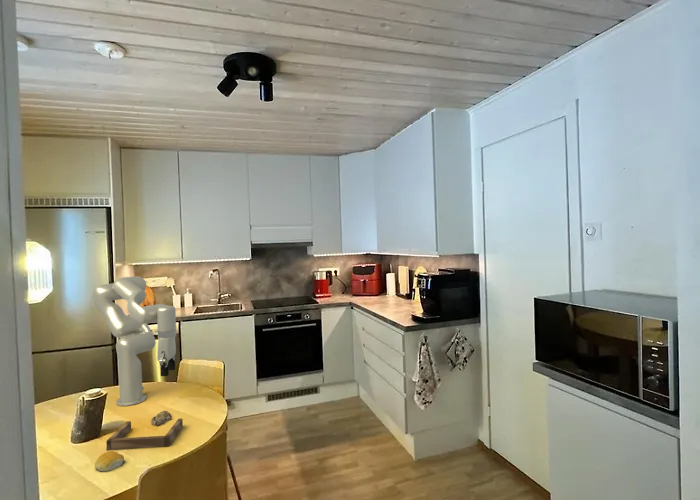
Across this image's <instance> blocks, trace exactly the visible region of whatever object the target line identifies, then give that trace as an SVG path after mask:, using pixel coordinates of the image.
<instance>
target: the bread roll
mask: <svg viewBox="0 0 700 500" xmlns="http://www.w3.org/2000/svg"><path fill="white" fill-rule="evenodd" d="M124 461H125V456H124V455H123V454H120V453H118V452H117V451H115V450H109V451H106V452H104V453H102V454H100V455H99V456H98V457H97V458H96V460H95V461H94V469H95V470H96V471H99V472H110V471H112V470H115V469H117V468H120V466H122V465H123V463H124Z"/></svg>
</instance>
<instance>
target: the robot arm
mask: <svg viewBox="0 0 700 500" xmlns="http://www.w3.org/2000/svg"><path fill="white" fill-rule="evenodd" d="M146 290H147V281H146V279H144V278H143V277H142V276H123V277H120V278H117V279H116V280H114V281H113V282H112V283H106V284H104V283H103V284H101V285H98V286H96V287H95V288H94V289H93V291H92V301H93V304H94V306H95V308H96V309H97V311H99V312H100V314H101V315H102V316H103V319H104V320H105V322H106V324H107V326H108V328H109V330H110V332H111V334H112V336H114V337H115V338H119V339H118V340H117V341H116V344H115V349H116V354H117V355H116V356H117V360H118V374H119V375H118V376H119V377H118V378H119V379H118V380H119V398H117V400H115V401H116V403H115V404H116V405H117V406H120V407H129V406H134V405H138V404H140V403H142V402H145V400H146V399H147V395H146V394H144V393H143V390H144V389H145V386H144V385H143V373H142V372H143V371H142V362H141V360H140V358H138V356H137V355H139V354H142V353H146V352H149V351H152V350H153V349H154V348H155V347H156V338H155V335H154V334H153V332H152V330H151V327H150V325H149V324H148V323H153V322H156V323H157V339H158V341H157V342H158V343H157V357H156V358H157V361H158V362H159V368H160V377H168V376H169V372H170V371H175V370H176V353H177V347H176V346H177V345H176V337H177V318H176V315H177V314H176V312H177V311H176V310H177V309H176V307H175V306H174V305H166V304H165V303H164V304H163V303H158V304H157V303H156V304H152V305H145V306H141V304H143V303H144V301H145V300H146V298H147V294H146V293H147V292H146ZM119 300H125V302H126V303H127V304H126V305H127V306H126V308H127V312H128V314H129V315H126V314H125V312H124V309H123V308H122V307H121V306H120V305H119V304H117V303H116V302H114V301H119Z"/></svg>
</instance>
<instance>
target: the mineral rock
mask: <svg viewBox="0 0 700 500" xmlns="http://www.w3.org/2000/svg"><path fill="white" fill-rule="evenodd" d="M170 420H172V414H171V413H170V412H169V411H168V410H162V411H160V412H159V413H157V414H156V415H155V416H153V417H152V418H151V420H150V422H151V425H152V426H155V427H159V426H162V425H164V424H165V423H167V422H169V421H170Z"/></svg>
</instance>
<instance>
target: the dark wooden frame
mask: <svg viewBox="0 0 700 500" xmlns="http://www.w3.org/2000/svg"><path fill="white" fill-rule="evenodd" d="M183 419H184V418H181V417H180V418H177V420H176V421H175V422H174V424H173V425H172V426H171V428H170V429H169V430H168V431H167V433H166V434H165V435H157V436H156V435H153V436H136V437H135V436H134V437H126V436H127V435H128V433H130V431H131V430H132V421H131V420H130V421H128V420H127V421H126V422H125V423H124V424H123V425H121V426H120V427H119V428H118V429H117V430H116V431H115V433H113V434H112V435H111V436H110V437H109V438H108V439H107V440H106V443H105V444H106V451H119V450H120V451H121V450H139V449H152V448H153V449H154V448H168V447H170V445H171V444H172V442H173V441H174V440H175V438H176V437H177V435H178V434H179V433H180V431H181V430H182V429H183V427H184V425H183V423H184V422H183Z"/></svg>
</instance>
